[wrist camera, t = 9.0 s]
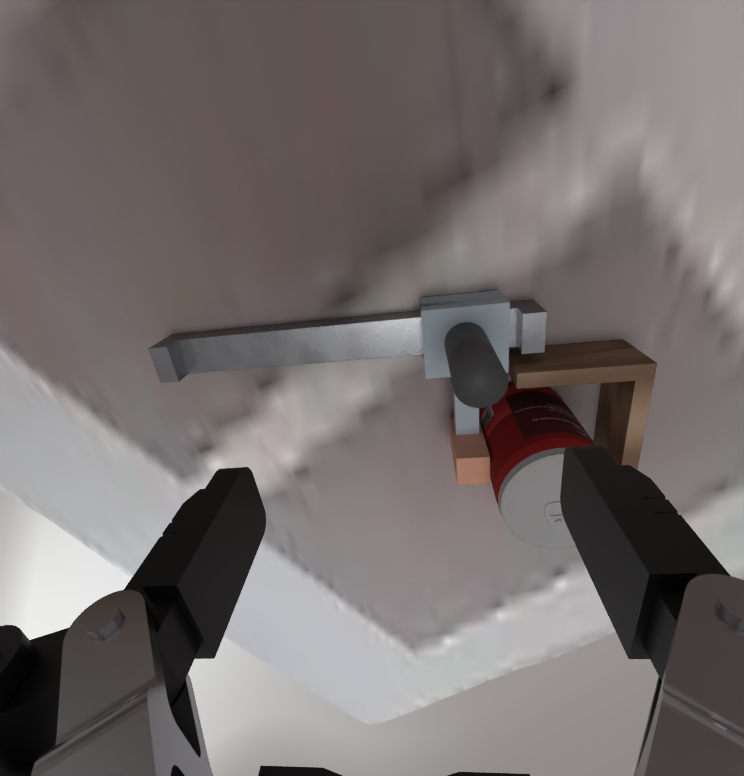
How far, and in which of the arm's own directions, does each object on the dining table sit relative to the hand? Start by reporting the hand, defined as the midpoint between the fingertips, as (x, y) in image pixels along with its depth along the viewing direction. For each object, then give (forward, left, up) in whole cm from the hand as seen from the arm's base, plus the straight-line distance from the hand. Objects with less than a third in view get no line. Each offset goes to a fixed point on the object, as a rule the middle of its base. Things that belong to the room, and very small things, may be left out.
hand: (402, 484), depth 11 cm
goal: (+13, +12, -24) cm, 30 cm away
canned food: (+13, +9, -24) cm, 28 cm away
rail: (+3, -6, -24) cm, 25 cm away
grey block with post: (+7, +4, -23) cm, 25 cm away
